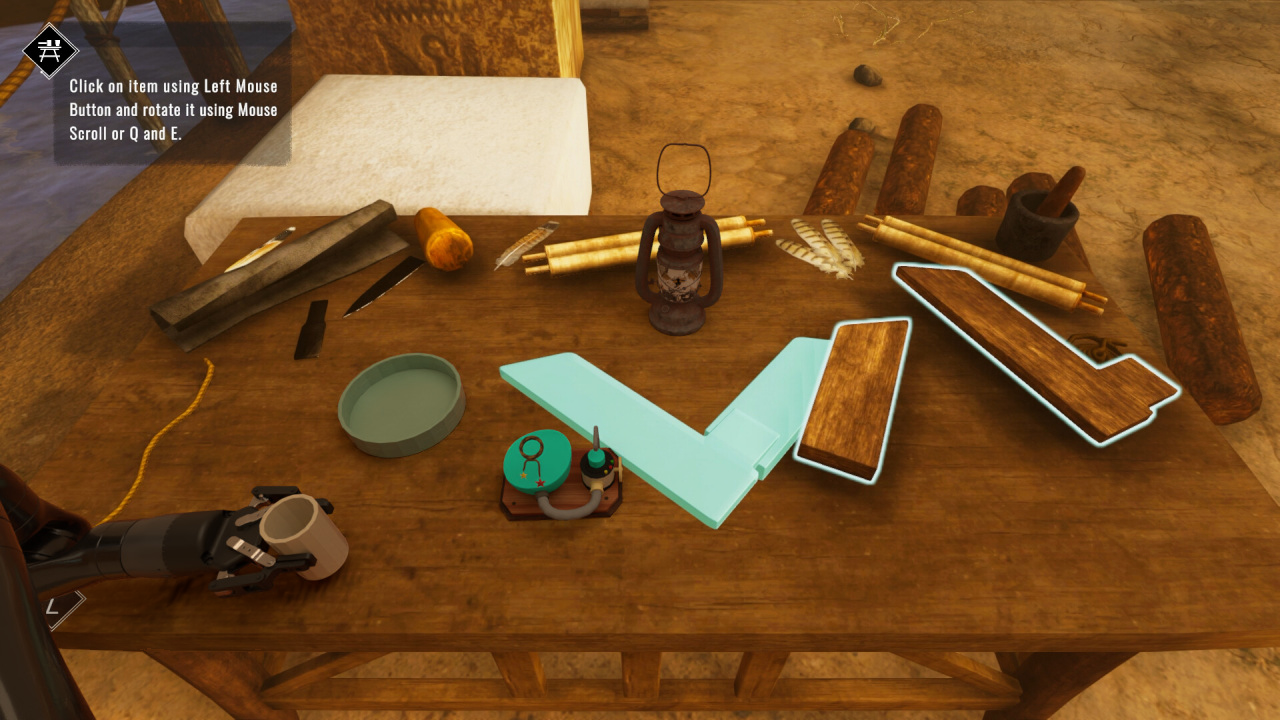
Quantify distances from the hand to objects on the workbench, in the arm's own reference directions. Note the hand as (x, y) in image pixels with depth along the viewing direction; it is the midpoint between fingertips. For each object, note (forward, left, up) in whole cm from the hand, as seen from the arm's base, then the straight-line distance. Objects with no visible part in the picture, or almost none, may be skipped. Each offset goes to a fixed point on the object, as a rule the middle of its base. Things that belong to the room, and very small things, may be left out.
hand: (322, 532), depth 71 cm
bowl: (+27, -3, -9) cm, 28 cm away
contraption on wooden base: (+9, -29, -9) cm, 31 cm away
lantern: (+46, -51, -9) cm, 69 cm away
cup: (0, +2, -6) cm, 6 cm away
